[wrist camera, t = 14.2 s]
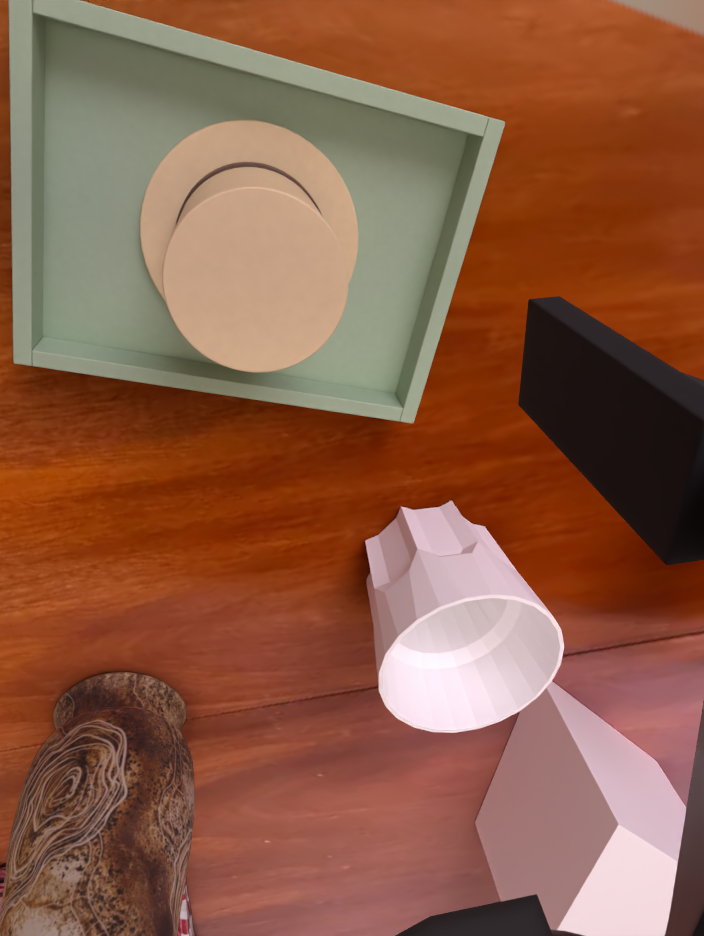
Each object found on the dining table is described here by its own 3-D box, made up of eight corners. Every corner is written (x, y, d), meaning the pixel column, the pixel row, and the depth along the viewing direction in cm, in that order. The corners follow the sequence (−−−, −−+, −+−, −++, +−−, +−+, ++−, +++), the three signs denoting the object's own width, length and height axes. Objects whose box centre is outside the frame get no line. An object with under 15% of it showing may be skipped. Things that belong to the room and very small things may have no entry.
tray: (28, 344, 32) (12, 363, 30) (27, -11, 25) (7, -21, 23) (402, 404, 37) (413, 424, 34) (486, 119, 30) (506, 121, 28)
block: (644, 632, 50) (755, 777, 39) (664, 854, 68) (743, 994, 57) (430, 706, 50) (483, 870, 40) (507, 907, 68) (557, 1056, 58)
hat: (96, 249, 30) (51, 300, 22) (233, 62, 27) (233, 51, 19) (266, 379, 34) (275, 458, 27) (398, 231, 31) (449, 273, 24)
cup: (351, 619, 44) (379, 744, 36) (346, 498, 39) (377, 609, 31) (491, 601, 45) (550, 717, 37) (504, 480, 40) (576, 583, 32)
